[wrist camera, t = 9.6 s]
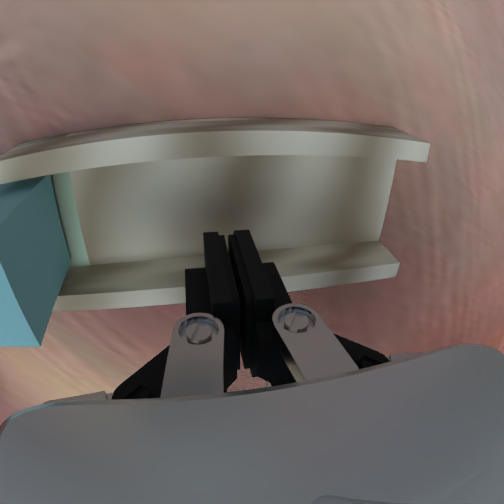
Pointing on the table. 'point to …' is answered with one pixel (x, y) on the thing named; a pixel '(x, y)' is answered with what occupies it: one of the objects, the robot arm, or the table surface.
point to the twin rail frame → (216, 201)
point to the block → (29, 260)
